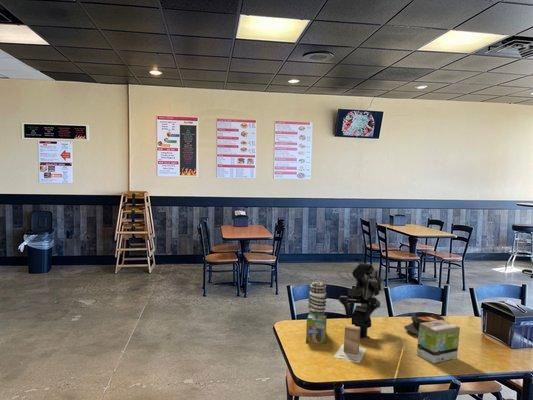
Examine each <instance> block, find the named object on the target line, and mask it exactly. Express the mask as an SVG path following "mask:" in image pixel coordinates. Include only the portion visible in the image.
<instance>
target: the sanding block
mask: <svg viewBox="0 0 533 400" xmlns="http://www.w3.org/2000/svg"><path fill="white" fill-rule="evenodd" d="M343 337H344V340H343V344H344V351H343V352H347V353H351V354H356V355H357V354H358V352H359V347H360V339H361V338H360V327H357V326H355V325H352V324H346V325H345V327H344V335H343Z"/></svg>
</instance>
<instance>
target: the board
mask: <svg viewBox="0 0 533 400" xmlns="http://www.w3.org/2000/svg"><path fill="white" fill-rule="evenodd" d="M343 351H344V343H341V345H340V347H339V348H338V349H337V351H336V352H335V354H334V356H333V358H336V359H339V360H343V361H349V362H353V363H358V364H360V363H361V361H362V359H363V357H364V355H365V353H366V351H367V348H364V347H360V346H359V352H358V354H357V355H356V354H351V353H347V352H343Z"/></svg>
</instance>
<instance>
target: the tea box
mask: <svg viewBox="0 0 533 400" xmlns="http://www.w3.org/2000/svg"><path fill="white" fill-rule="evenodd" d="M444 320H445V319H444ZM444 320H438V321H432V322H425V323H420V325H419V335H417V336H418V337H417V346H416V347H417V348H416V355H417V356H419V357H421V358H422V359H424V360H426V361H428V362H430V363H432V364H436V363H440V362H444V361H451V360H455V359H454V358H456V359H457V358H458V350H459V341H460V331H461V327H460V326H458V325H455V324H453V323H451V322H449V321H446V320H445V321H444ZM450 359H451V360H450Z"/></svg>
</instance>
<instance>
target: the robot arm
mask: <svg viewBox="0 0 533 400" xmlns="http://www.w3.org/2000/svg"><path fill="white" fill-rule="evenodd" d="M352 276H353V277H352V278H353V279H354V281H355V286H354V287H353V288H348V296H347V295H340V296H339V298H338V301H339V303H340V304H341V305H343V307H344V312H345V318H346V319H347V320H349V318H351V325H352V326H357V327H360V339H361V338H364V339H365V338H367V339H370V335H369V336H368V329H369V328H371V327H372V318H371V315H372V314H373V313H374V311H375V310H378V309H379V308H381V302H380V300H379V299H377V297H376V296H379V295H380V294H381V292H382V291H383V279H382V278H381V276H380V274H379V271H378V270H376V269H375V267H374V265H373V264H372V263H365V262H358V264H357V265H356V266H355V269H353V270H352ZM370 278H373V279H375V280H370ZM350 297H351V298H350ZM352 304H357V305H355V306H354V307H355V308H354V309H353V311H352V313H351V309H352V306H351V305H352ZM359 304H360V305H359ZM350 314H351V317H350Z"/></svg>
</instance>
